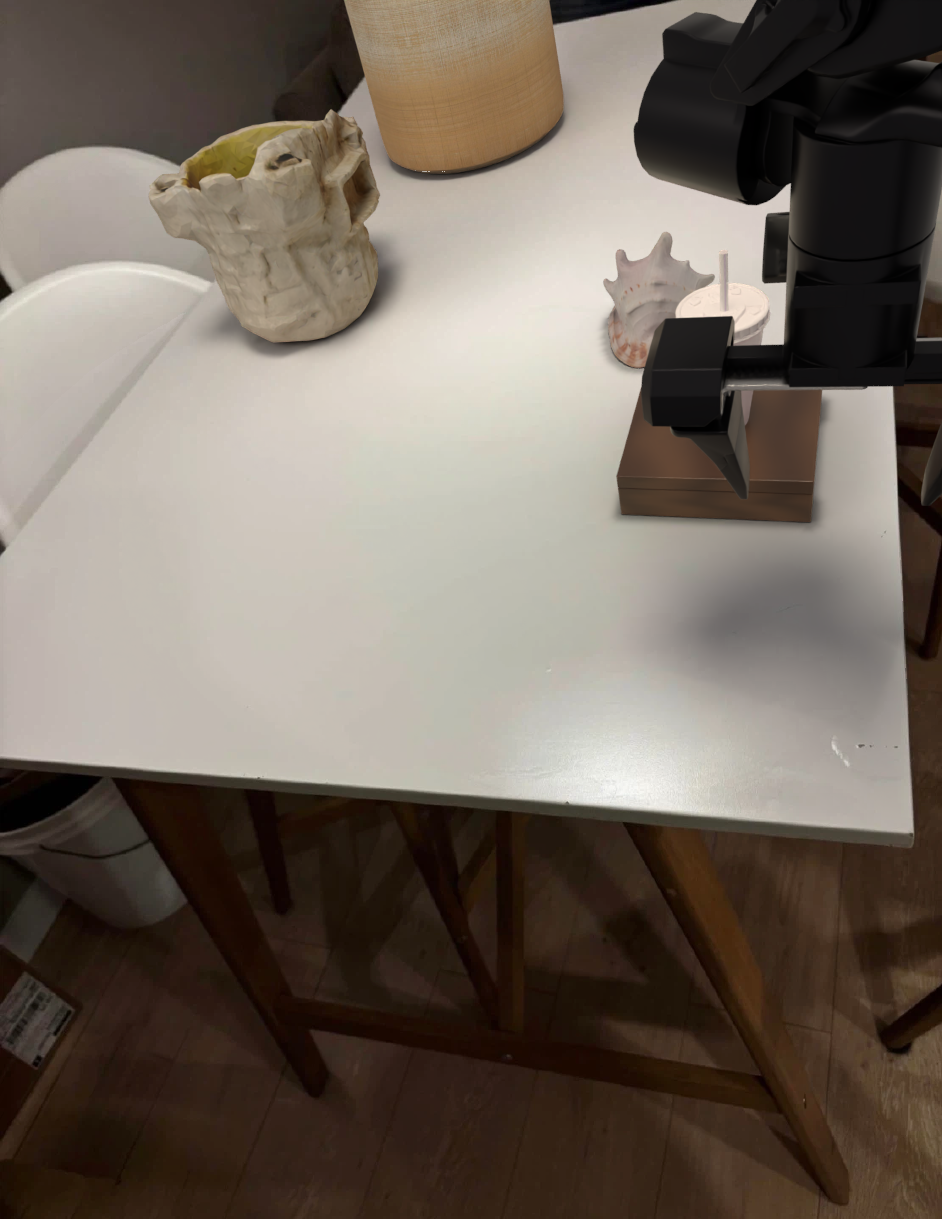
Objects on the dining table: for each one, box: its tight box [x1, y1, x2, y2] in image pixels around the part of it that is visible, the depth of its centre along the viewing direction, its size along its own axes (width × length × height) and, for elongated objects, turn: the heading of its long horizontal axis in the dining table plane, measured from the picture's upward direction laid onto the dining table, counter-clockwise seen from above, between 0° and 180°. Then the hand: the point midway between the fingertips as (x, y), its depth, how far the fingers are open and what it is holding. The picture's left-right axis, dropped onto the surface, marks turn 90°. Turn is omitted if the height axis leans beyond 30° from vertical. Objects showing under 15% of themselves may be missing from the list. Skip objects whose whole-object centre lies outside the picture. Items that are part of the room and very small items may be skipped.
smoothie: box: [675, 249, 771, 425], centre depth 63 cm, size 6×6×14 cm
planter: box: [343, 0, 565, 175], centre depth 116 cm, size 25×25×22 cm
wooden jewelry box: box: [615, 388, 823, 523], centre depth 70 cm, size 14×14×4 cm
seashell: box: [602, 231, 716, 369], centre depth 81 cm, size 10×12×9 cm
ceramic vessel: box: [148, 109, 381, 344], centre depth 96 cm, size 23×24×25 cm
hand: (832, 496), depth 49 cm, fingers open, 9 cm apart
